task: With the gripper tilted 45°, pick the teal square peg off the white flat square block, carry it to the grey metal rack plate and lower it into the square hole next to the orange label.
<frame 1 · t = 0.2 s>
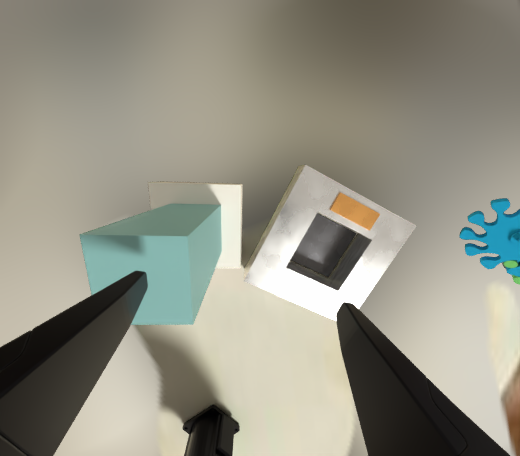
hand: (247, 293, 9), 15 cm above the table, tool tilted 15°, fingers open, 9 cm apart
white flat square block: (203, 221, 24), on the table
blue splat disc: (484, 231, 26), on the table
hole plate: (319, 244, 25), on the table
teal square peg: (197, 228, 21), point 3 cm above the table, touching white flat square block
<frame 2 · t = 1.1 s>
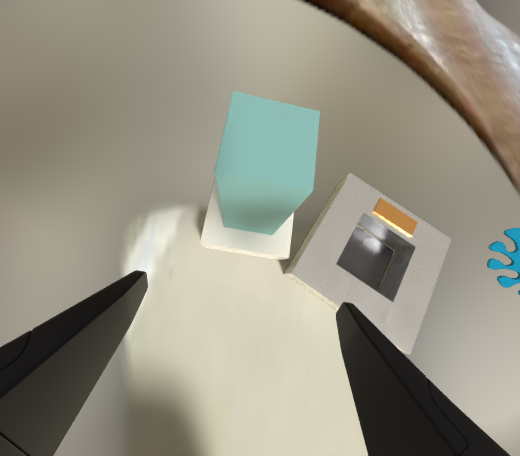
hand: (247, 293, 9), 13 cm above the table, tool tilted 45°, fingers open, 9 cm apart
white flat square block: (250, 216, 24), on the table
blue splat disc: (507, 268, 27), on the table
hole plate: (360, 257, 25), on the table
teal square peg: (252, 208, 21), point 3 cm above the table, touching white flat square block
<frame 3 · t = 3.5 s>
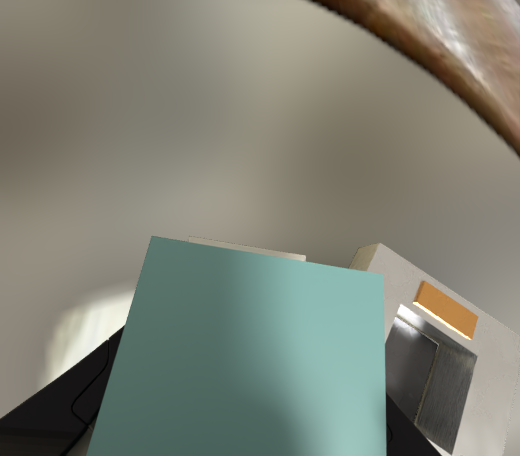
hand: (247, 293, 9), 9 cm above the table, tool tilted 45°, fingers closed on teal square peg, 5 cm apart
white flat square block: (237, 303, 17), on the table
hole plate: (393, 358, 18), on the table
teal square peg: (238, 308, 14), point 3 cm above the table, touching gripper, white flat square block
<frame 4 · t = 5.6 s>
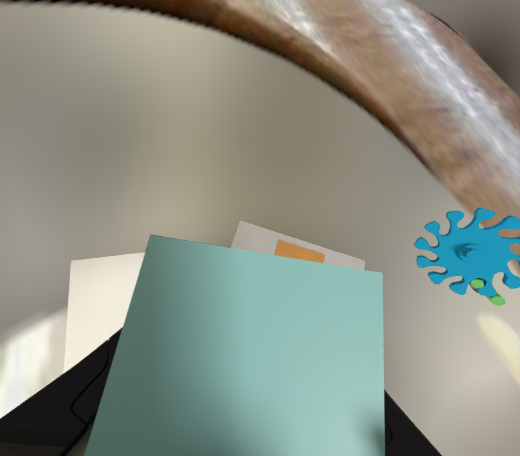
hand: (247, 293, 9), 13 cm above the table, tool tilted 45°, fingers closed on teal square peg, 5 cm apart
white flat square block: (140, 301, 20), on the table
blue splat disc: (438, 259, 26), on the table
hole plate: (279, 305, 22), on the table
teal square peg: (238, 308, 14), point 8 cm above the table, touching gripper
when the fingers open (7 cm above the table, at t = 7.9 s): teal square peg drops 2 cm, resting on hole plate.
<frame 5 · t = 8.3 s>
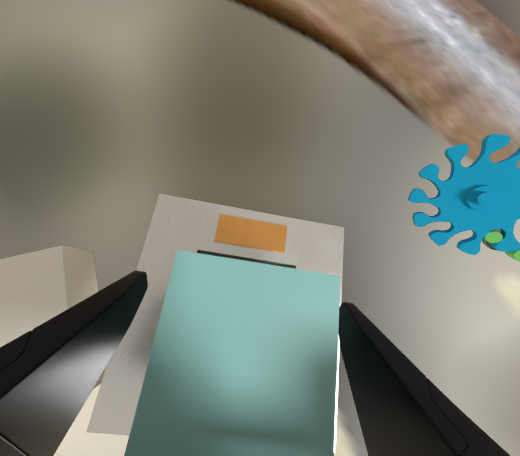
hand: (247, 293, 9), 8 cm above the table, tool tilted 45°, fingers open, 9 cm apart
white flat square block: (28, 331, 14), on the table
blue splat disc: (438, 216, 21), on the table
hole plate: (238, 305, 16), on the table
teal square peg: (238, 305, 16), resting on hole plate
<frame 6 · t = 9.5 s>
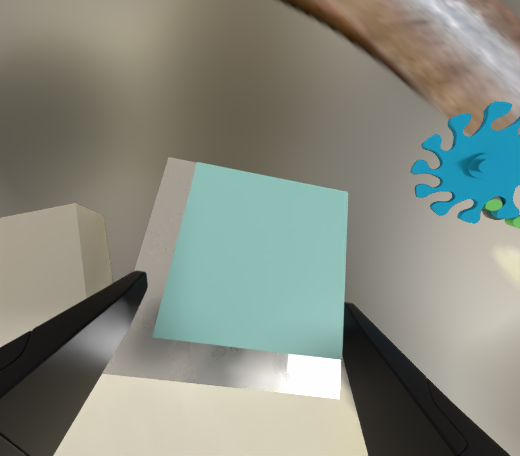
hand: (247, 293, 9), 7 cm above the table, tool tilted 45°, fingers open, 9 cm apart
white flat square block: (43, 289, 14), on the table
blue splat disc: (440, 190, 21), on the table
hole plate: (244, 269, 17), on the table
teal square peg: (244, 269, 16), resting on hole plate
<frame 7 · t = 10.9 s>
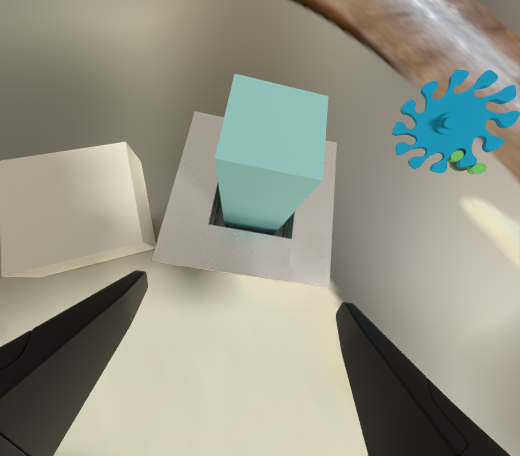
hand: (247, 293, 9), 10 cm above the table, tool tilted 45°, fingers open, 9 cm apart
white flat square block: (96, 213, 18), on the table
blue splat disc: (418, 151, 25), on the table
hole plate: (253, 205, 20), on the table
teal square peg: (253, 205, 20), resting on hole plate
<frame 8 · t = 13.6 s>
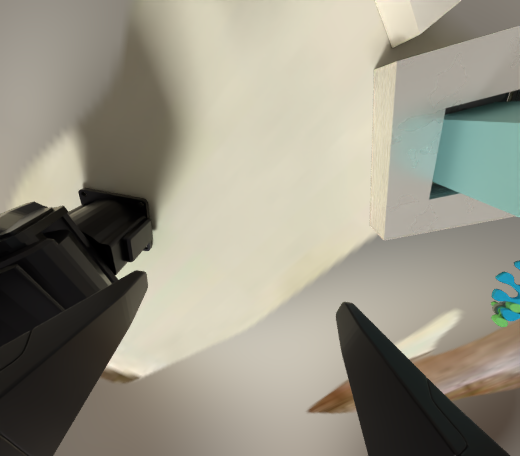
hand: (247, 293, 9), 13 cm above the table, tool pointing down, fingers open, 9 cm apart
blue splat disc: (514, 277, 26), on the table
hole plate: (453, 142, 18), on the table
teal square peg: (454, 142, 18), resting on hole plate
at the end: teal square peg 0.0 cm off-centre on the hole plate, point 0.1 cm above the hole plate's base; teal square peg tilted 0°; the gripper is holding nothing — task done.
